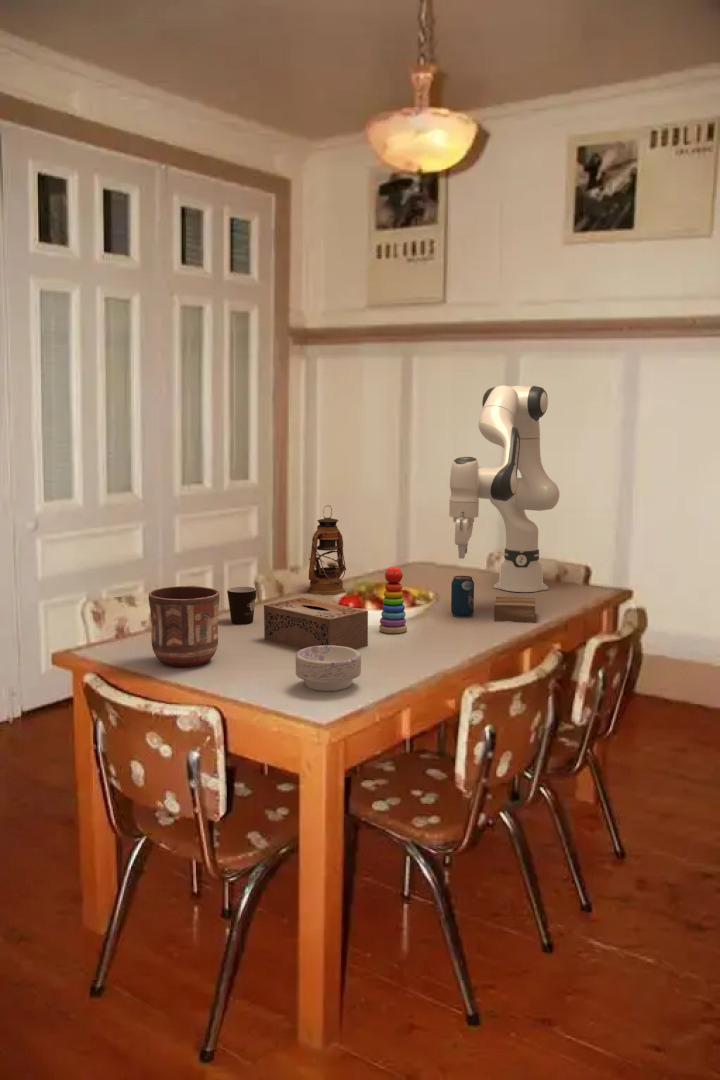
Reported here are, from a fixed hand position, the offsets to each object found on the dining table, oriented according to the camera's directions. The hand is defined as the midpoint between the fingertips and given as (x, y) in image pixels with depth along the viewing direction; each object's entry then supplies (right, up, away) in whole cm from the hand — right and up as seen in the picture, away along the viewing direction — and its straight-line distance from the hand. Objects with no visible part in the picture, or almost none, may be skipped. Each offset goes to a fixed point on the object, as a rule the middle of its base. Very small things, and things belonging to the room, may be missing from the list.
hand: (462, 556), depth 298 cm
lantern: (-43, -13, +40) cm, 60 cm away
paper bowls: (-39, -29, -71) cm, 86 cm away
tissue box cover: (-44, -24, -30) cm, 58 cm away
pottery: (-76, -26, -50) cm, 94 cm away
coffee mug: (-65, -20, -5) cm, 69 cm away
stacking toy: (-22, -22, -17) cm, 35 cm away
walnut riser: (+16, -19, 0) cm, 25 cm away
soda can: (0, -19, +3) cm, 19 cm away
